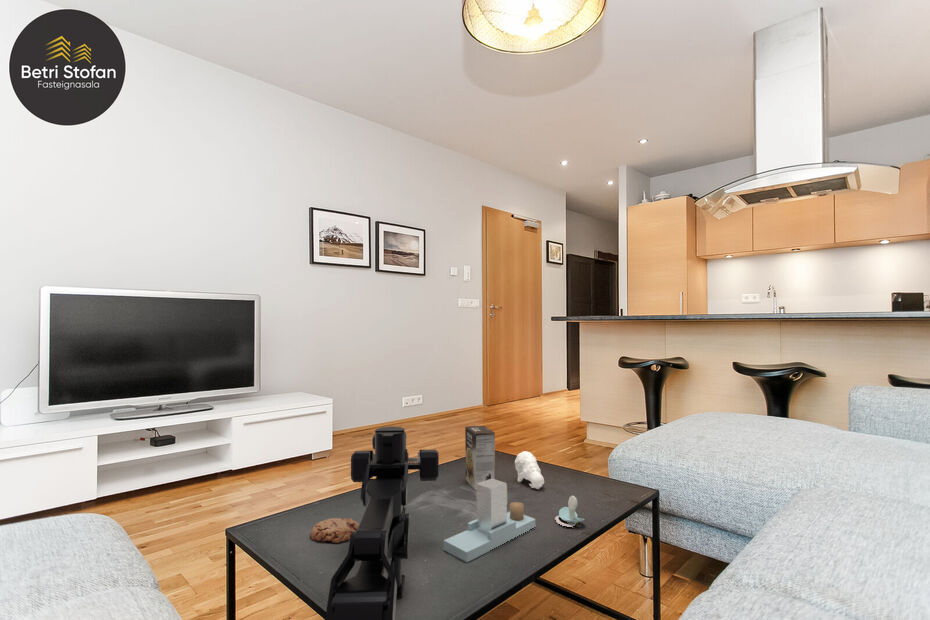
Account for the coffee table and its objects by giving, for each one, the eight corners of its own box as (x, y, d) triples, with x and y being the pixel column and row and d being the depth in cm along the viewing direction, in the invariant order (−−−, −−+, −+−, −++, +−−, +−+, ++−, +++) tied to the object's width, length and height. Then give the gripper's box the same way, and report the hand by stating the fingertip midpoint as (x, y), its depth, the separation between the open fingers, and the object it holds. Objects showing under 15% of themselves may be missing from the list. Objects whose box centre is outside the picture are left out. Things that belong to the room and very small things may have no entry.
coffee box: (464, 480, 140) (464, 426, 140) (484, 477, 141) (484, 424, 142) (474, 490, 131) (474, 433, 131) (495, 488, 133) (495, 431, 133)
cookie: (309, 530, 107) (309, 517, 107) (356, 522, 111) (356, 510, 111) (311, 550, 98) (311, 535, 98) (362, 541, 102) (362, 527, 102)
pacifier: (564, 532, 106) (587, 528, 107) (563, 504, 106) (586, 500, 107) (550, 518, 113) (572, 515, 114) (549, 492, 113) (571, 489, 114)
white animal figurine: (532, 448, 142) (551, 463, 131) (531, 475, 143) (550, 492, 132) (513, 450, 140) (530, 465, 129) (512, 477, 141) (529, 495, 130)
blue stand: (466, 562, 92) (466, 537, 92) (443, 549, 97) (443, 525, 97) (535, 527, 107) (535, 506, 107) (512, 518, 112) (512, 497, 112)
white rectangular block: (491, 536, 99) (491, 488, 99) (476, 529, 102) (476, 483, 102) (509, 527, 103) (509, 482, 103) (495, 521, 106) (494, 477, 106)
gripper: (437, 436, 94) (438, 419, 110) (344, 437, 93) (359, 420, 109) (438, 491, 94) (439, 467, 109) (344, 493, 93) (359, 468, 109)
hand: (399, 454), depth 109 cm, fingers open, 9 cm apart
